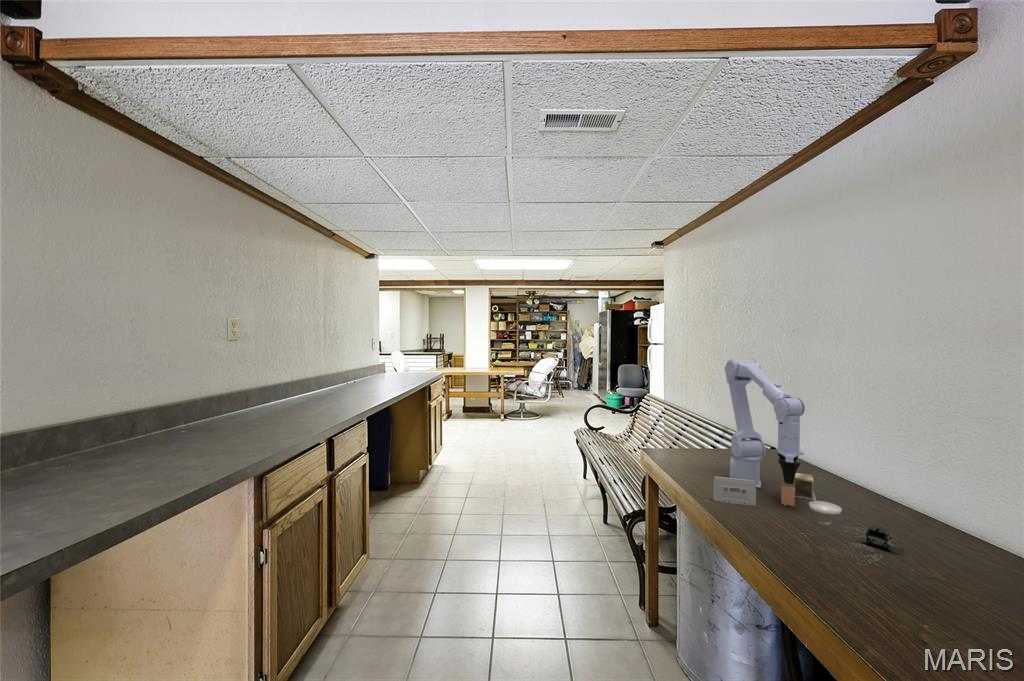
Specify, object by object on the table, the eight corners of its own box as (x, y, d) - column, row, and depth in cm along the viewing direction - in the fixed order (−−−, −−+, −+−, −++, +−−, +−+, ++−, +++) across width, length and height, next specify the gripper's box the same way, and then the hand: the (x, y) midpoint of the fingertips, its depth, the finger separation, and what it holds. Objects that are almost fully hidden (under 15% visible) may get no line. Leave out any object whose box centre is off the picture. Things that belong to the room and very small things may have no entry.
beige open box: (793, 496, 143) (793, 477, 143) (792, 490, 149) (792, 472, 149) (813, 499, 141) (813, 480, 141) (811, 493, 146) (811, 475, 146)
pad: (790, 496, 144) (790, 496, 144) (789, 490, 150) (789, 489, 150) (816, 500, 140) (816, 500, 140) (814, 493, 146) (814, 493, 146)
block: (781, 504, 137) (781, 488, 137) (781, 501, 140) (781, 485, 140) (794, 506, 135) (794, 490, 135) (793, 503, 138) (794, 487, 138)
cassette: (713, 501, 139) (713, 477, 139) (713, 499, 141) (713, 475, 141) (756, 506, 135) (756, 481, 135) (755, 504, 137) (755, 480, 137)
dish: (810, 511, 132) (810, 507, 132) (807, 502, 139) (807, 498, 138) (843, 517, 128) (843, 512, 128) (839, 507, 135) (839, 503, 134)
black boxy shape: (843, 541, 113) (843, 524, 113) (853, 534, 118) (853, 517, 118) (907, 561, 103) (907, 542, 103) (915, 552, 108) (915, 534, 108)
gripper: (805, 442, 129) (805, 489, 129) (802, 433, 142) (801, 475, 142) (777, 439, 133) (777, 485, 133) (776, 431, 145) (776, 472, 145)
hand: (788, 480), depth 137 cm, fingers open, 7 cm apart
